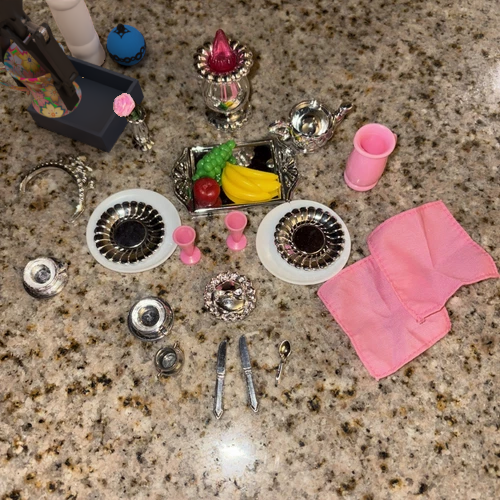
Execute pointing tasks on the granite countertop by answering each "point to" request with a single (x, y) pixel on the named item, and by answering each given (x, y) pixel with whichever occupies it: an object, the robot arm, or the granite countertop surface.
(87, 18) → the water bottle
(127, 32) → the ornament
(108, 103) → the tote
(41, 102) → the mug
